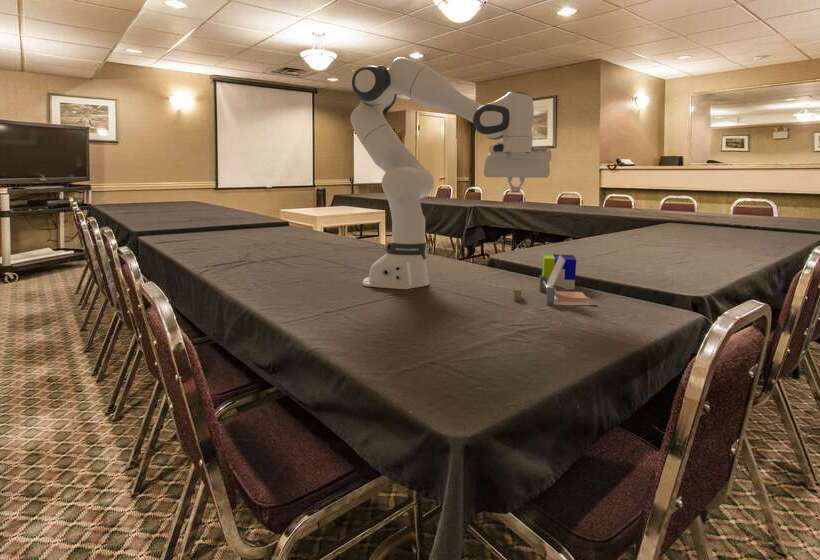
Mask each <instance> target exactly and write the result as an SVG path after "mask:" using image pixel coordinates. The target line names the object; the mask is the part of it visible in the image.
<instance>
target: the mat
mask: <svg viewBox="0 0 820 560" xmlns="http://www.w3.org/2000/svg"><path fill="white" fill-rule="evenodd" d="M554 305H555V306H574V305H589V304H588V301H587V304H583V303H559V302H558V301H557V299H556V298H555V294H554Z"/></svg>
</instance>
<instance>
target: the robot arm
mask: <svg viewBox="0 0 820 560" xmlns="http://www.w3.org/2000/svg"><path fill="white" fill-rule="evenodd" d="M351 87H352V90H353V92H354V94H355V96H356V97H357V98H358V99H360V101H359V104H358V106H357V107H356V108H354V109H353V111H352V112H351V114H350V123H351V126H352V128H353V131H354V133H355V135H356V137H357V138H358V140H359V141H360V143H361V145H362V146H363V148H364V149H365V151H366V152H367V153H368V155H369V156H370V158H371V159H372V161H373V162H374V164H375V165H376V166H378V168H380V169H381V170H382V171H383V172H385V173H384V175H383V176H382V179H381V187H382V190H383V193H384V194H385V196H386V198H387V202H388V206H389V210H390V216H391V241H388V242H387V243H386V246H385V251H386V253H385V254H383V255H382V256H381V257H379V258H378V259H377V260H376V261H375V262H373V264H372V265H371V266H370V269H369V274H368V276H367V277H365V278H364V279H363V280H362V286H364V287H371V288H372V287H373V288H384V289H396V290H411V289H415V288H420V287H422V288H423V287H426V286H428V285H430V281H429V277H428V271H427V270H428V269H427V261H426V259H427V252H428V251H427V250H428V248H427V247H428V246H427V242H426V216H425V215H424V214H423V213H424V212H423V209H422V204H421V199H424V198H425V197H426V196H428V195H429V194H430V193H431V192H432V191H433V188H434V185H435V182H434V181H435V180H434V177H433V174H432V173H431V172H430V171H429V170H427V168H425V167H424V165H422V163H421V162H420V161H419V160H418V159H417V157H416V156H414V154H413V153H412V152H411V151H410V150H409V149H408V148H407V147H406V146H405V145H404V143H403V142H402V141H401V139H400V138H399V136H398V135H397V134H396V132H395V131H394V129H393V128H392V126H391V125H390V124H389V122H388V120H387V119H386V117H385V115H386V114H387V113H388V112H389V110H390V109H391V108H392V107H393V106H394V105H395V103H396V101H397V98H398V96H397V95H398V94H399V95H403V96H405V97H407V98H409V99H411V100H413V101H415V102H416V103H419V104H421V105H423V106H427V107H430V108H435V109H439V110H444V111H447V112H450V113H453V114H455V115H458V116H460V117H461V118H463V119H466V120H467V121H469V122H471V123H472V124H473V127H474V129H475V130H476V132H478V133H479V134H480V135H482V136H485V137H486V138H488V139H490V140H495V141H496V140H501V139H503V140H502V141H501V142H497V143H494V144H491V145H489V146H488V154H487V156H486V157H485V160H484V166H483V167H484V168H483V176H484V178H507V183H508V185H509V186H510V193H515V194H516V193H518V194H519V193H521V187H522V186H523V185H524V183H525V180H526V179H525V178H527V179H528V178H534V179H535V178H537V179H538V178H543V179H544V178H547V179H548V177H550V175H551V169H550V165H551V164H550V162H551V160H552V154H553V153H552V150H551V149H549V148H548V147H544V146H542V147H540V146H539V147H538V146H533V137H534V136H533V129H532V128H533V125H534V117H535V116H534V114H535V113H534V111H535V110H534V109H535V108H534V100H533V97H531V96H530V94H528V93H526V92H521V91H508V92H507V93H506V94H505V95H503V96H502V97H500V98H498V99H497V100H494V101H491V102H489V103H485V104H481V103H479V102H477V101H475V100H474V99H471V98H469V97H468V96H466V95H464V94H463V93H461V92H460V91H459V90H457V88H455V87H454V86H453V85H452V84H451V83H450V82H449V81H448V80H447V78H445V77H444V76H443V75H441V74H440V73H439V72H437V71H436V70H435V69H433V68H431V67H430V66H427V65H425V64H424V63H421V62H418V61H416V60H414V59H410V58H407V57H403V56H400V57H396V58H395V59H394V60H393V61H392V62H391V63H390V65H389V67H388V68H387V67H385V66H384V65H366V66H365V65H364V66H362V67H359V68H358V69H357V70H355V72H354V73H353V75H352V79H351ZM513 178H519V182H520V183H519V184H518V185H517V186H513V184H512V182H513Z"/></svg>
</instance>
